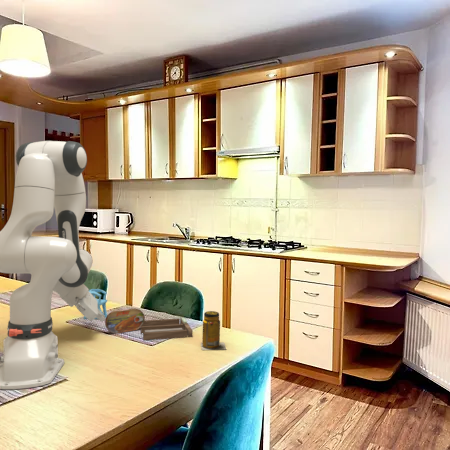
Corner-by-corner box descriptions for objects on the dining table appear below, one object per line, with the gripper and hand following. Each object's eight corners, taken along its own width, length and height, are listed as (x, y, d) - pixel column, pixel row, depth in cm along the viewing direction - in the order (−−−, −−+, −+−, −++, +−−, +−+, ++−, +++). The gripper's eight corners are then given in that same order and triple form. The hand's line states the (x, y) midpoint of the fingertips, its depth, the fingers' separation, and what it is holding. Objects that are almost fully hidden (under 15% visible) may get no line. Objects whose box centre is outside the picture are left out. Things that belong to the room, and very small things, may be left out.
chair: (101, 320, 173) (102, 292, 173) (83, 319, 175) (83, 290, 174) (109, 315, 181) (110, 288, 180) (91, 314, 182) (92, 286, 182)
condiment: (200, 343, 151) (201, 310, 150) (224, 342, 151) (225, 310, 151) (201, 350, 143) (202, 315, 143) (226, 350, 144) (227, 315, 143)
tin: (106, 335, 156) (106, 312, 155) (103, 332, 158) (104, 310, 158) (144, 329, 164) (145, 308, 163) (141, 327, 166) (142, 306, 166)
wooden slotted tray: (192, 337, 157) (192, 328, 156) (143, 340, 151) (143, 331, 151) (183, 324, 172) (183, 316, 172) (139, 326, 167) (139, 319, 166)
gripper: (82, 295, 146) (111, 321, 149) (83, 283, 165) (109, 306, 169) (68, 308, 144) (97, 334, 148) (71, 294, 164) (97, 318, 168)
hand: (103, 319), depth 158 cm, fingers closed
